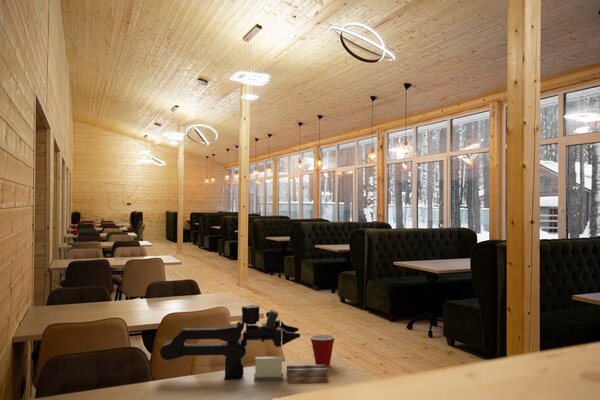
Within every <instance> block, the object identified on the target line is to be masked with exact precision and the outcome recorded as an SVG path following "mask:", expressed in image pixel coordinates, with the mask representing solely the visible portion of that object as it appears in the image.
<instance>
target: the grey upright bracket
mask: <svg viewBox="0 0 600 400" xmlns="http://www.w3.org/2000/svg"><path fill="white" fill-rule="evenodd" d="M283 381H284V373H283V372H282V377H255V372H254V376H253V382H255V383H256V382H283Z"/></svg>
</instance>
